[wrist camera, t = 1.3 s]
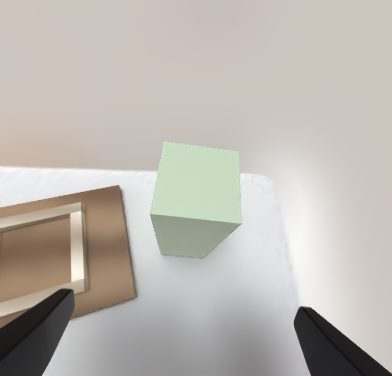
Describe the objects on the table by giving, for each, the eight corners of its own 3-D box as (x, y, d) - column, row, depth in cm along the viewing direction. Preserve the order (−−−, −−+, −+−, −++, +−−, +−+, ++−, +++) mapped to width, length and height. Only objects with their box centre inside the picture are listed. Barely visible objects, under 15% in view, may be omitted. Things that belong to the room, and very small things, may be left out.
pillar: (202, 258, 21) (241, 223, 9) (161, 254, 20) (149, 213, 9) (204, 219, 23) (238, 151, 11) (167, 215, 23) (163, 141, 11)
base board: (136, 297, 18) (132, 298, 16) (-77, 368, 15) (-115, 380, 13) (120, 189, 23) (116, 180, 21) (-42, 221, 19) (-65, 214, 18)
